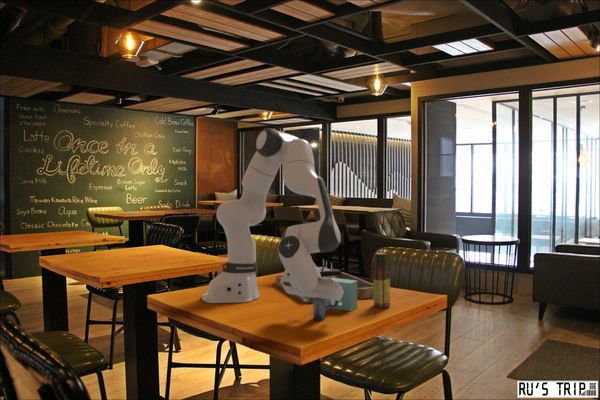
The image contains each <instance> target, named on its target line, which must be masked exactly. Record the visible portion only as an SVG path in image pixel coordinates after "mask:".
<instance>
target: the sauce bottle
mask: <svg viewBox="0 0 600 400" xmlns="http://www.w3.org/2000/svg"><path fill="white" fill-rule="evenodd" d="M374 257H375V266H374V269H373V271H372V284H373V298H372V299H373V306H375V308H381V309H384V308H385V309H386V308H389V307H390V306H391V279H390V269H389V268H388V266H387V253H386V252H375V254H374Z"/></svg>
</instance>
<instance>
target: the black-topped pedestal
mask: <svg viewBox="0 0 600 400" xmlns="http://www.w3.org/2000/svg"><path fill="white" fill-rule="evenodd" d="M312 261H313V262H314V263H315V265H316V267H317V268H318V270H319V272H320V274H321V278H330V279H331V278H335V276H340V275H341V272H342V270H340V269H336V268H333V263H332V262H329V261H328V260H326V261H325V260H324V259H322V260H321V259H319V260H313V259H312Z"/></svg>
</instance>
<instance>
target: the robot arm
mask: <svg viewBox="0 0 600 400" xmlns="http://www.w3.org/2000/svg"><path fill="white" fill-rule="evenodd" d="M255 150H256V151H255V153H254V155H253V156H252V158H251V160H250V162H249V164H248V167H247V169H246V171H245V173H244V175H243V178H242V179H241V185H242V194H241V197H240V198H239V199H236V198H235V199H228V200H226V201H224V202H222V203H221V204H220V205H219V206H218V207H217V210H216V213H215V215H216V219H217V221H218V223H219V224H220V225H221V226H222V228H223V230H224V233H225V237H226V241H227V261H226V262H224V261H221V262H220V263H219V266H220V267H221V268H222V272H220V273H219V274H217V276H216V277H214V278H213V279H212V280H211V281H209V284H208V288H207V292H206V293H203V294H202V295H201V300H202V301H203V302H205V303H209V304H230V303H231V304H233V303H250V302H251V301H254V300H256V299H257V300H258V299H259V298H260V293H259V290H258V289H259V288H258V283H257V275H258V263H257V259H256V258H257V256H256V255H257V252H256V251H257V244H256V243H257V242H256V240H255V239H254V238H253V237H252V233H251V231H250V230H251V229H250V227H253V226H256V225H258V224H260V223H261V222H263V221H264V220H265V218H266V214H267V208H266V200H267V196H268V193H269V190H270V188H271V186H272V184H273V182H274V180H275V178H276V176H277V173H278V170H279V169H280V166H281V165H282V180H283V183H284V185H285V187H287V189H288V190H289V191H291V192H293V193H295V194H297V195H300V196H301V195H302V196H308V197H312V198H314V199H316V203H317V206H318V212H319V216H320V219H319V220H318V221H313V222H306V223H299V224H294V225H291V226H288V227H286V229H285V230H284V231H283V233H282V234H281V237H280V242H279V243H278V246H277V251H278V255H279V259H280V261H281V264H282V265H283V267H284V271H283V273H282V275H281V276H282V278H281V281H280V283H281V284H282V286H283V288H284V290H285V291H284V290H283V291H284V292H285V293H287V294H289V295H291V294H293V295H298V296H300V297H301V298H303V299H304V301H309V299H310V297H314V298H322V299H329V301H328V303H329V304H330V305H334V304H335V300H336V301H340V300H341V299H342V296H343V293H344V291H343V289H342V286H340V284H339V283H338V282H337V281H336V280H334V279H330V278H321V274H320V272H319V270H318V268H317V266H316V265H315V262H314V260H313V259H312V256H311V254H317V253H331V252H332V253H333V252H334V251H335V250H336V249H337V248H338V247H339V246H340V244H341V242H342V241H341V239H342V237H341V232H340V229H339V226H338V223H337V220H336V216H335V212H334V208H333V206H332V201H331V198H330V194H329V189H328V188H327V184H326V182H325V181H324V179H323V177H321V176H319V175H317V173H316V169H315V167H316V166H315V158H314V152H313V151H314V150H313V147H312V145H311V143H310V142H309V141H307V140H306V139H303V138H299V137H297V136H295V135H293V134H290V133H286V132H283V131H279V130H277V129H276V128H270V127H267V128H263V129H262V130H261V131H260V132H259V133H258V135H257V137H256V140H255ZM312 260H313V261H312ZM341 301H342V300H341Z"/></svg>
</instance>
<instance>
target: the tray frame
mask: <svg viewBox="0 0 600 400" xmlns="http://www.w3.org/2000/svg"><path fill="white" fill-rule="evenodd" d="M281 278H282V275H275V285H276V286H277V287H278V288H280V289H281V290H283V291H284V292H286V291H285V290H284V288H283V286H282V284H281V283H280V281H281ZM335 278H339V279H347V280H356V281H358V283H357V300H360V299H362V300H363V299H373V282H372V283H371V282H370V281H367V280H364V279H361V278H359V277H357V276H354V275H351V274H349V273H346V272H342V271H341V275H340V276H335ZM290 296H292V297H294V298H295V299H297V300H298V301H300V302H302V303H304V304H309V303H310V304H311V303H312V304H313V297H310V299H309V301H304V299H303V298H301V297H300V296H298V295H293V294H290ZM341 301H342V299H341ZM325 302H326V299H325Z"/></svg>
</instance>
